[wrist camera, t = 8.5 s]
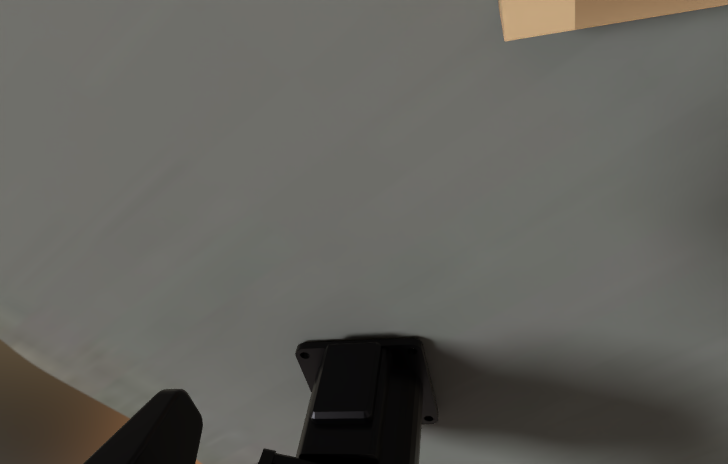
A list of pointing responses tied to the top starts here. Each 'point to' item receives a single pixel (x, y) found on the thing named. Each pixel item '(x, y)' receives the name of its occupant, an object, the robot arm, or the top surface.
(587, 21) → the holder
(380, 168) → the top surface
